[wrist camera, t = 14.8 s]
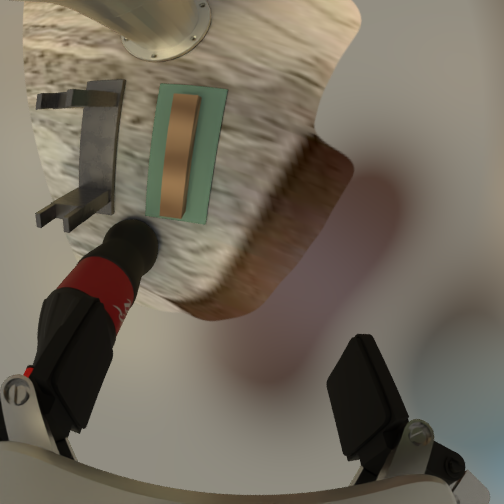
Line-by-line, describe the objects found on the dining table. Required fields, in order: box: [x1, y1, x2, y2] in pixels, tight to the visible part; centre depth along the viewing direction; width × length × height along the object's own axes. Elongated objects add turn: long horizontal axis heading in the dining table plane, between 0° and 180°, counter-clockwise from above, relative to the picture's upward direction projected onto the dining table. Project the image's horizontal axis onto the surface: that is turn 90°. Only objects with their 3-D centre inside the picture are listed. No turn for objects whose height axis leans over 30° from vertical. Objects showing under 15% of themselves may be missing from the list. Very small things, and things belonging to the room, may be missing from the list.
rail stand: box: [35, 80, 126, 233], centre depth 28 cm, size 20×6×12 cm, turn 169°
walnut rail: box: [160, 93, 202, 219], centre depth 33 cm, size 16×3×3 cm, turn 170°
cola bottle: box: [24, 219, 158, 378], centre depth 27 cm, size 8×8×30 cm
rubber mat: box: [145, 84, 228, 224], centre depth 35 cm, size 19×9×1 cm, turn 169°
